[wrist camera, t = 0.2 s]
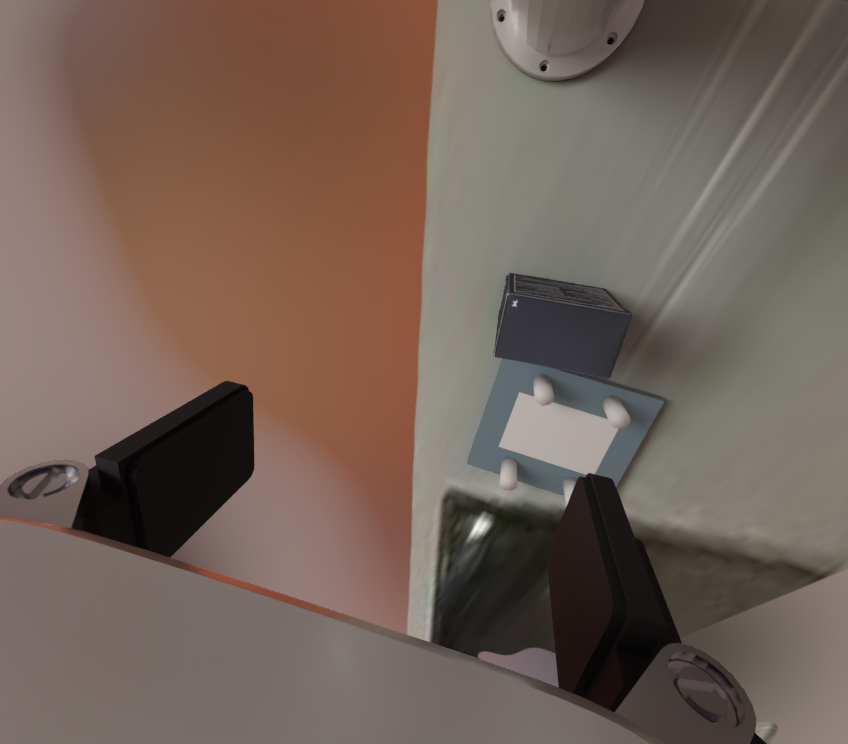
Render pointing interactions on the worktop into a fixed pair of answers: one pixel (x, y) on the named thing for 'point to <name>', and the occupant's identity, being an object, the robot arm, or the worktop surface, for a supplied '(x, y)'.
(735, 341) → the worktop surface
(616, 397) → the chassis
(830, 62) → the worktop surface
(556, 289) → the small box
